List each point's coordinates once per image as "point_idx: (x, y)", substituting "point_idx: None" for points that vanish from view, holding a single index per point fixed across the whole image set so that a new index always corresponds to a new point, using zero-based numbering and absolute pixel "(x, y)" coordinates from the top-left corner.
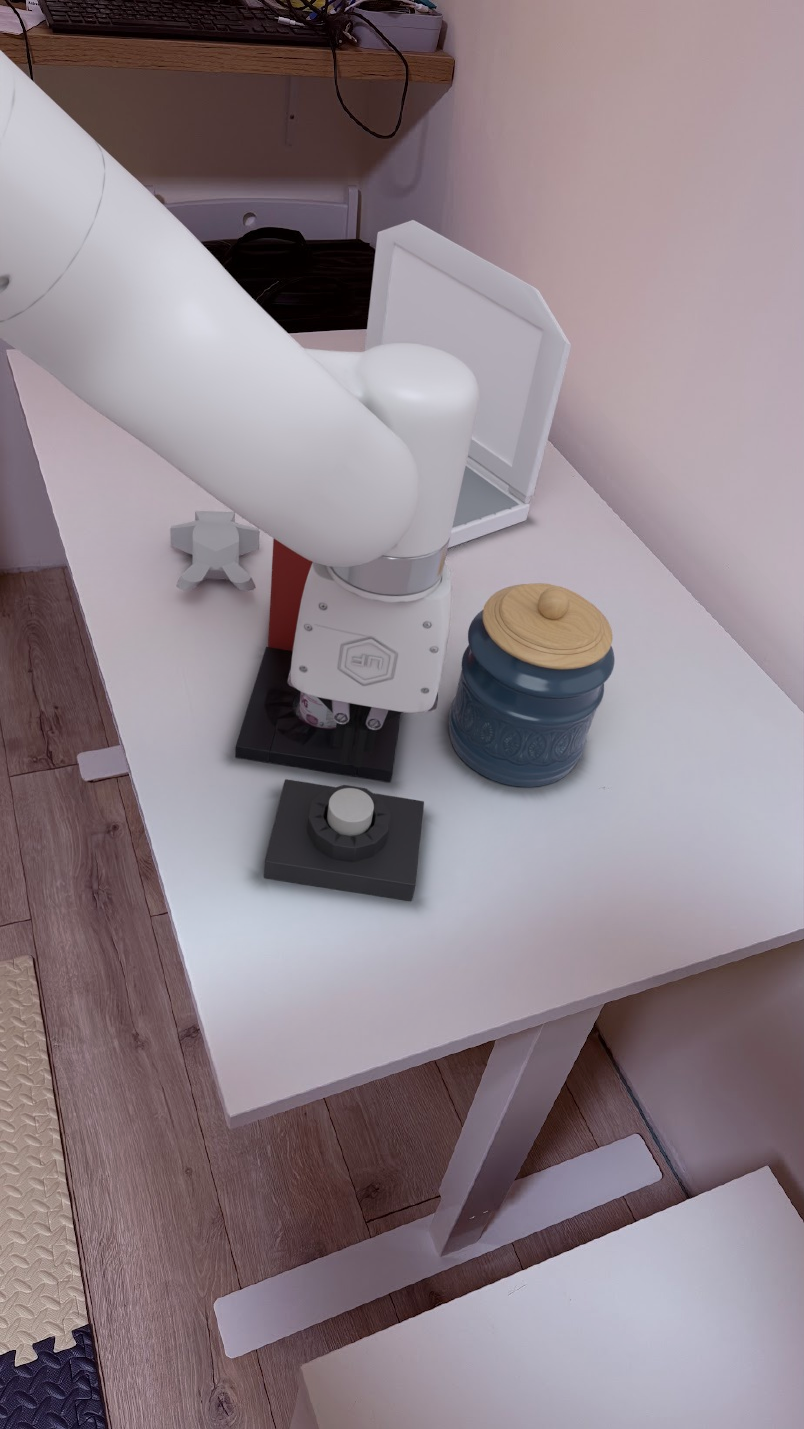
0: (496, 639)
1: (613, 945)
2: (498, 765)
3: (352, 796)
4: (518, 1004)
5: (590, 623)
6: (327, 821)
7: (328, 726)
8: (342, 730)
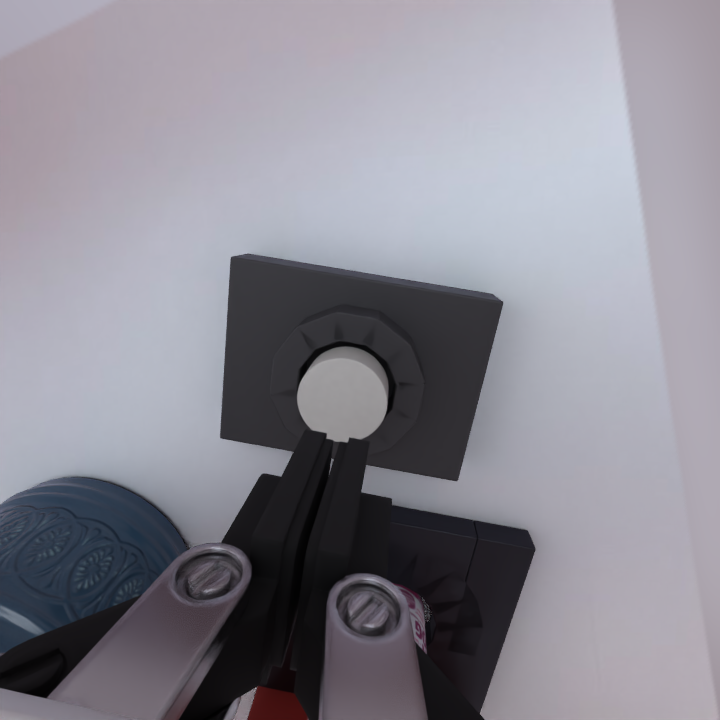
0: None
1: None
2: (98, 508)
3: (339, 421)
4: (64, 42)
5: None
6: None
7: None
8: (361, 548)
